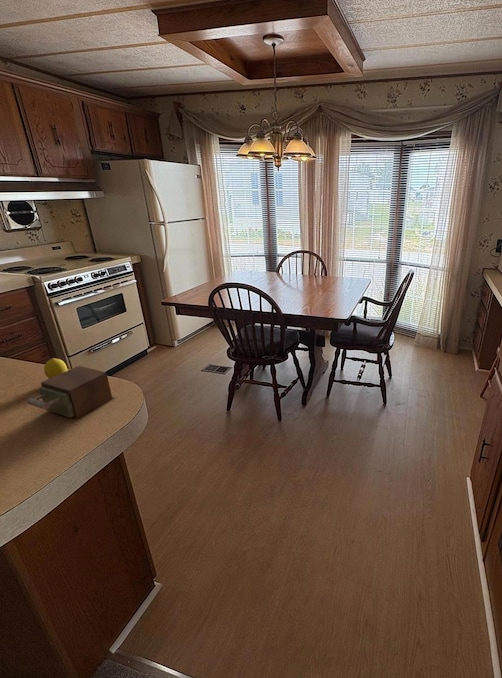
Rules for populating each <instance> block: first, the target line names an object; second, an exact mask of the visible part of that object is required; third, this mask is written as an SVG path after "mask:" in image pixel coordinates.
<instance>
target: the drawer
mask: <svg viewBox="0 0 502 678" xmlns="http://www.w3.org/2000/svg"><path fill="white" fill-rule="evenodd" d="M38 391H39V394H40V395H39V396H36V397H35V398H34V397H29V398H28V399H26V404H28V405H30V406H34V407H37V408H40V409H42V410H46V411H48V412H52V413H53V414H54V413H55V414H58V415H61V416H64V417H67V418H74V417H73V416H74V415H75V414H74V411H73V407H72V404H71V400H70V397H69V394H68V393H67V392H64V391H61V390H57V389H54V388H48V387H45V386H42V385H41V386H40V387H38Z"/></svg>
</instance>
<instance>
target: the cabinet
mask: <svg viewBox="0 0 502 678" xmlns="http://www.w3.org/2000/svg"><path fill="white" fill-rule="evenodd" d="M40 385H41V387H42V386H45V387H48V388H54V389H57V390H61V391H64V392H67V393H68V394H69V397H70V400H71V404H72V407H73V411H74V414H75V415H74V416H73V417H72V418H75V419H79V418H81V417H83V416H84V415H86V414H88V413H90V412H91V411H93V410H95V409H97V408H98V407H101V406H102V405H104V404H105V403H107V402H109V401H111V400H113V395H112V390H111V387H110V386H111V385H110V382H109V377H108V373H107V372H106V371H101V370H98V369H94V368H90V367H86V366H83V365H78V366H75V367H73V368H71V369H67V371H66V372H64V373H61V374H59V375H57V376H55V377H52V378H50V379H49V378H48V379H45V380H43V381H41V382H40Z"/></svg>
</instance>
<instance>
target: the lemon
mask: <svg viewBox="0 0 502 678" xmlns="http://www.w3.org/2000/svg"><path fill="white" fill-rule="evenodd" d="M43 371H44V374H45V376H46V378H48V379H50V378H52V377H55V376H57V375H59V374H61V373H64V372H66V371H68V367H67V365H66V363H65V362H64V361H63V360H61V359H60V358H54V357H52V358H50V359H49V360H48V361H46V362H45V364H44V367H43Z"/></svg>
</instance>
